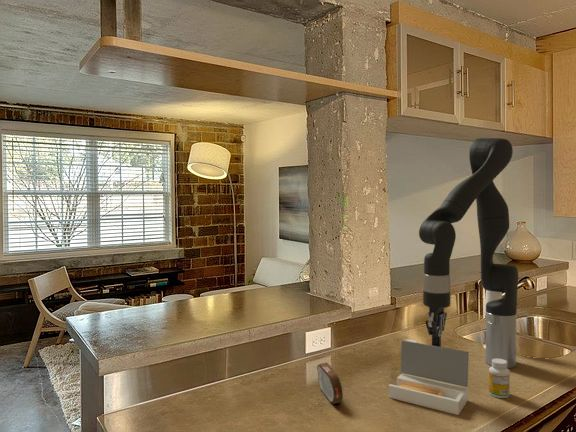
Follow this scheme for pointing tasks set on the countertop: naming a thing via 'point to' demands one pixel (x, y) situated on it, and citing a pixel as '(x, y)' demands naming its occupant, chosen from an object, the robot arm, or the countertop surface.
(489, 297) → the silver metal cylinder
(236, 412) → the countertop surface
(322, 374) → the tin
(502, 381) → the supplement bottle
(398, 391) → the white open tray
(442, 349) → the cover
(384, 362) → the countertop surface
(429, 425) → the countertop surface
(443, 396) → the rod
